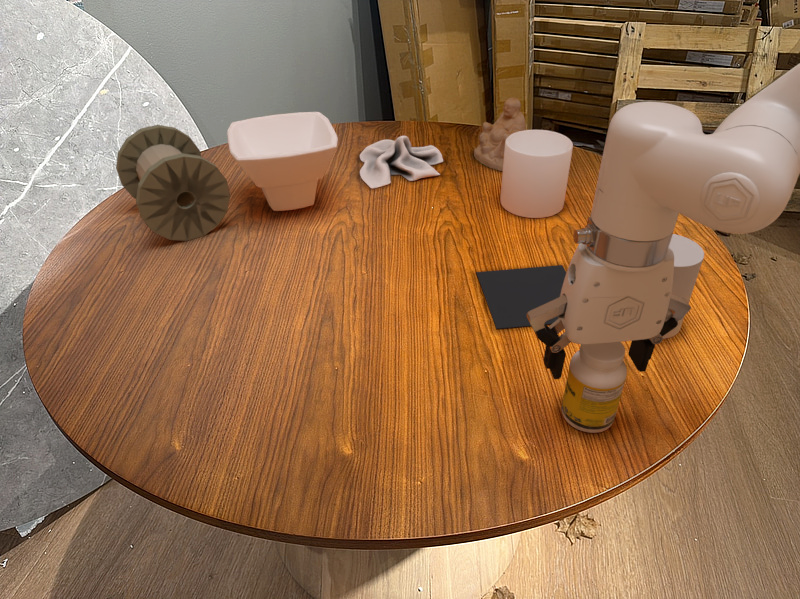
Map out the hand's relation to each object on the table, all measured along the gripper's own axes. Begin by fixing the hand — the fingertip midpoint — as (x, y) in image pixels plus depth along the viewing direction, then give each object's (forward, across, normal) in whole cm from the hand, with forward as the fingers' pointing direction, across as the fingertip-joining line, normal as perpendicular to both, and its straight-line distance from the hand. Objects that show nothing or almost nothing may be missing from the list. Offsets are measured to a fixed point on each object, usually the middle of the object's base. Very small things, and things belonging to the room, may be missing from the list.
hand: (594, 366), depth 69 cm
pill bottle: (+8, 0, 0) cm, 8 cm away
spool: (+9, -57, +56) cm, 80 cm away
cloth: (+9, -15, +72) cm, 74 cm away
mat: (+8, 0, +24) cm, 25 cm away
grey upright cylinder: (+8, +15, +16) cm, 23 cm away
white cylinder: (+8, +8, +52) cm, 53 cm away
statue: (+9, +7, +72) cm, 73 cm away
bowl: (+9, -37, +59) cm, 70 cm away
